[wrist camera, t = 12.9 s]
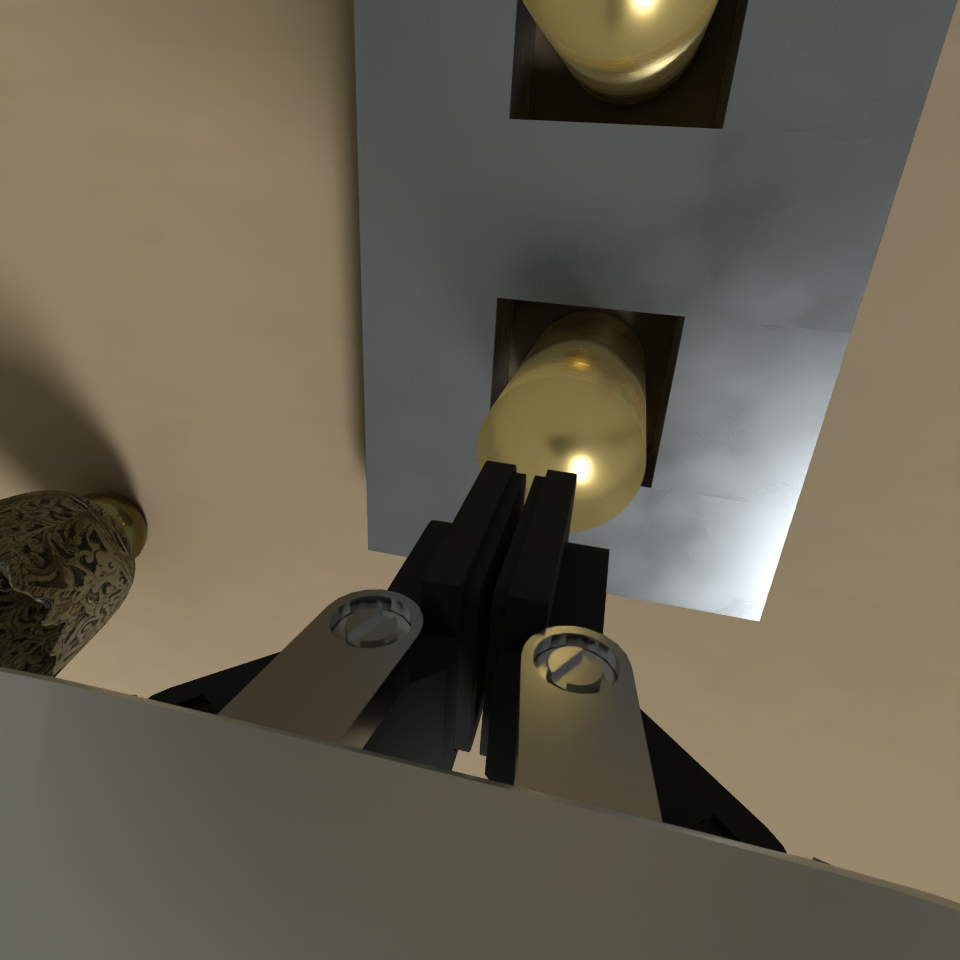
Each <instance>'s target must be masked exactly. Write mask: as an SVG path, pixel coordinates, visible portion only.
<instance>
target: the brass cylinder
mask: <svg viewBox="0 0 960 960" xmlns="http://www.w3.org/2000/svg"><path fill="white" fill-rule="evenodd" d="M477 458H478V465H479V469H480V471H481V470H482V468H483V466H484V464H485V462H486V461H494V462H501V463H508V464H515V465H516V467H517V473H523V474H526V489H525V500H524V504H525V502H526V499H527V496H528V493H529V490H530V488H531V485H532V482H533V479H534V477H535V475H536V476H543V477H545V476H546V473H547V470H548V469H549V470H555V471H562V472H569V473H576V474H577V482H576V489H575V497H574V504H573V511H572V518H571V525H570V532H577V531H583V530H587V529H592V528H594V527H597V526H600V525H602V524H604V523H606V522H608V521H610V520H611V519H613V518H614V517H616V516H617V515H618V514H620V513H621V512H622V511H623V510H624V509H625V508H626V507H627V506H628V505H629V504H630V502H631V501H632V500H633V498H634V497H635V495H636V494H637V492H638V490H639V488H640V486H641V483H642V481H643V477H644V473H645V467H646V361H645V355H644V351H643V348H642V345H641V343H640V341H639V339H638V338H637V336H636V335H635V333H634V332H633V331H632V330H631V329H630V328H629V327H628V326H627V325H626V324H625V323H624V322H622V321H620V320H619V319H617V318H615V317H613V316H611V315H609V314H605V313H602V312H596V311H581V312H575V313H571V314H568V315H566V316H563V317H561V318H560V319H558V320H556V321H555V322H553V323H552V324H551V325H549V326H548V327H547V328H546V329H545V330H544V332H543V333H542V334H541V335H540V337H539V338H538V340H537V341H536V343H535V344H534V346H533V347H532V349H531V350H530V352H529V353H528V354H527V356H526V357H525V359H524V360H523V362H522V363H521V365H520V366H519V368H518V369H517V371H516V372H515V374H514V375H513V377H512V378H511V380H510V381H509V383H508V384H507V386H506V387H505V389H504V390H503V392H502V393H501V395H500V396H499V398H498V399H497V400H496V402H495V403H494V405H493V406H492V408H491V409H490V411H489V413H488V414H487V416H486V418H485V420H484V422H483V424H482V426H481V430H480V433H479V437H478V445H477Z"/></svg>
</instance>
